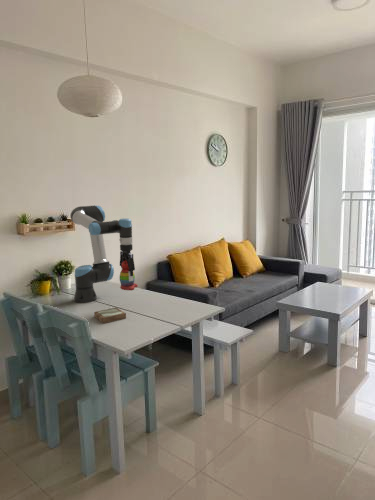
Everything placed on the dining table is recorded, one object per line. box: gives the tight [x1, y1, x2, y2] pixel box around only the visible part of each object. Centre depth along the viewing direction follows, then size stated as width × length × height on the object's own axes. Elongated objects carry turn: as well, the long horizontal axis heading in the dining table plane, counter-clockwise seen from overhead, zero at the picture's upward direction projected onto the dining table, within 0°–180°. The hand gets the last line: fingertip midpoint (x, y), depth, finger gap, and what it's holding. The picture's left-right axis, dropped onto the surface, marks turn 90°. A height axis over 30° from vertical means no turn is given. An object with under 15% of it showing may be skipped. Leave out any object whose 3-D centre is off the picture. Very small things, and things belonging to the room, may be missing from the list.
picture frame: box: [94, 307, 127, 324], centre depth 228 cm, size 14×14×3 cm
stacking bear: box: [119, 260, 139, 291], centre depth 239 cm, size 11×10×18 cm
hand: (127, 279), depth 239 cm, fingers closed on stacking bear, 9 cm apart
